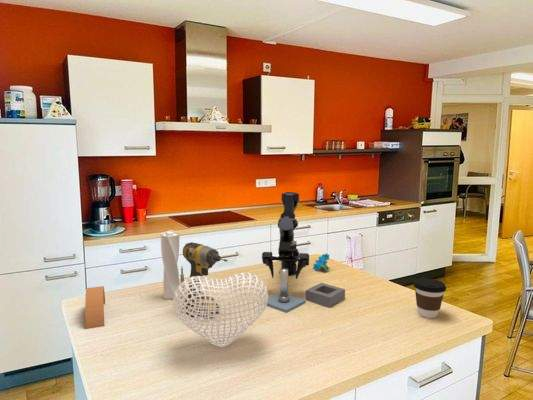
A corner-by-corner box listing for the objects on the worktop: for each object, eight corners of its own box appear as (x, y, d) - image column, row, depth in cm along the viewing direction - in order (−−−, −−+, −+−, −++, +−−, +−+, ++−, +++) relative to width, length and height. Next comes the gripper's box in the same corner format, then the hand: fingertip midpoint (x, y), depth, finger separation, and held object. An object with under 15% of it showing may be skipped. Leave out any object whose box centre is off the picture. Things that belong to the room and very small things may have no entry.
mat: (261, 303, 151) (261, 301, 151) (281, 294, 160) (281, 292, 160) (286, 312, 143) (286, 310, 143) (305, 302, 152) (305, 300, 152)
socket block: (305, 299, 155) (305, 290, 154) (321, 291, 163) (321, 282, 162) (329, 307, 148) (330, 297, 147) (344, 299, 156) (345, 289, 155)
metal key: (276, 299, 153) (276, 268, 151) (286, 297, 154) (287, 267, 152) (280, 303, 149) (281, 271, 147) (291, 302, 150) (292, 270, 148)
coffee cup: (447, 322, 136) (450, 289, 134) (414, 319, 138) (416, 287, 136) (440, 309, 146) (442, 278, 145) (409, 307, 149) (411, 276, 147)
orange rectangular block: (85, 329, 130) (83, 300, 129) (89, 305, 149) (87, 280, 147) (104, 326, 132) (102, 298, 131) (105, 303, 151) (104, 278, 149)
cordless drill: (216, 327, 132) (215, 254, 128) (176, 311, 144) (174, 244, 140) (234, 317, 139) (233, 248, 135) (195, 303, 151) (193, 239, 147)
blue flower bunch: (310, 262, 197) (325, 249, 195) (318, 270, 198) (333, 257, 196) (313, 272, 186) (329, 259, 184) (322, 280, 187) (337, 267, 185)
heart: (261, 329, 131) (261, 264, 127) (273, 353, 116) (273, 281, 112) (174, 339, 124) (172, 271, 121) (175, 366, 109) (172, 289, 106)
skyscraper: (180, 301, 153) (178, 231, 149) (159, 301, 153) (157, 231, 149) (185, 293, 162) (183, 226, 157) (165, 293, 162) (163, 226, 157)
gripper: (262, 232, 157) (258, 268, 148) (309, 233, 155) (309, 270, 146) (264, 246, 166) (261, 280, 157) (309, 247, 164) (308, 282, 155)
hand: (284, 278), depth 154 cm, fingers open, 9 cm apart
